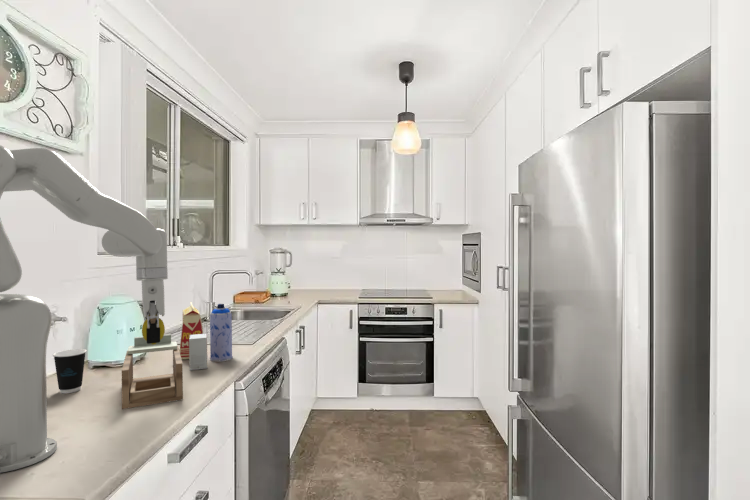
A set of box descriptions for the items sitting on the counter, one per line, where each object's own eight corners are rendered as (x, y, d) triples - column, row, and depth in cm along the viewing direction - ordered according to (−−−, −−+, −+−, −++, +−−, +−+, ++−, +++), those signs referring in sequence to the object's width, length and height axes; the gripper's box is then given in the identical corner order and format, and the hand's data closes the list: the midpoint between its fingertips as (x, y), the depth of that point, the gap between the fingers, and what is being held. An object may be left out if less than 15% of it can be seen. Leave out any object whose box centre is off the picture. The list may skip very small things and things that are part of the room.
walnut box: (182, 399, 114) (182, 363, 114) (122, 409, 108) (121, 370, 108) (178, 375, 135) (178, 345, 135) (127, 382, 129) (127, 350, 129)
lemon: (155, 347, 113) (154, 317, 113) (137, 346, 114) (136, 316, 114) (169, 342, 119) (169, 313, 118) (152, 342, 120) (151, 313, 120)
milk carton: (178, 355, 162) (177, 302, 162) (204, 352, 166) (203, 300, 166) (178, 360, 154) (177, 305, 154) (205, 357, 158) (205, 303, 158)
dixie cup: (77, 384, 128) (76, 347, 128) (93, 388, 124) (92, 350, 124) (47, 392, 121) (46, 353, 121) (62, 397, 117) (62, 356, 117)
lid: (177, 349, 129) (177, 337, 129) (127, 354, 123) (127, 342, 123) (176, 344, 135) (176, 333, 135) (128, 349, 129) (128, 337, 129)
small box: (207, 368, 143) (207, 337, 143) (189, 370, 141) (188, 339, 141) (207, 363, 151) (206, 333, 151) (189, 364, 149) (189, 334, 149)
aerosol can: (237, 356, 159) (236, 303, 159) (222, 362, 151) (222, 305, 151) (219, 355, 161) (219, 302, 161) (205, 360, 154) (204, 305, 154)
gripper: (168, 275, 110) (169, 345, 110) (166, 271, 125) (168, 333, 126) (135, 277, 107) (136, 349, 107) (137, 273, 122) (138, 336, 122)
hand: (153, 339), depth 116 cm, fingers closed on lemon, 5 cm apart
